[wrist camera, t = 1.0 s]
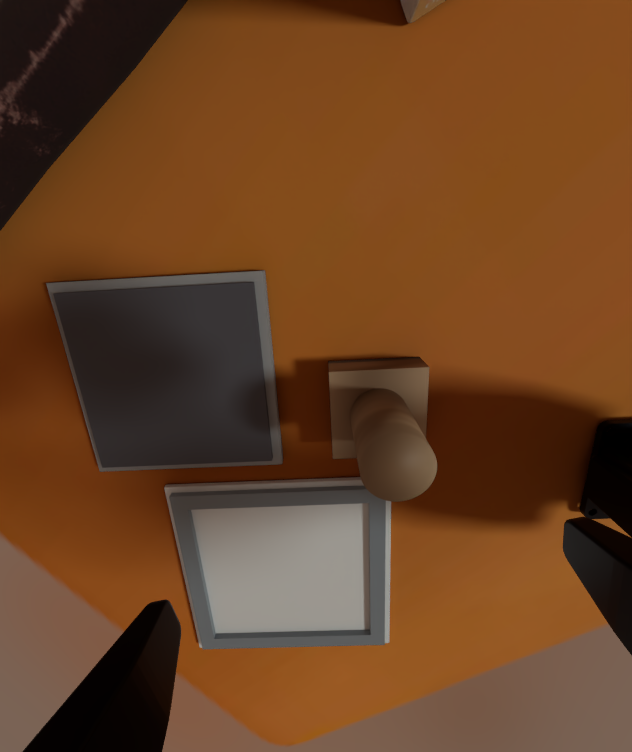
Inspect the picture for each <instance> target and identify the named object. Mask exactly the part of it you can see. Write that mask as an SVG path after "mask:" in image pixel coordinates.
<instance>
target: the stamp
mask: <svg viewBox="0 0 632 752" xmlns="http://www.w3.org/2000/svg"><path fill="white" fill-rule="evenodd" d="M328 369H329V390H330V412H331V434H332V453H333V459H347V458H357V460H358V466H359V472H360V477H361V480H362V483H363V484H364V486H365V488H366V489H367V490H368V491H369V492H370V493H371V494H373V495H374V496H376V497H378V498H380V499H383V500H386V501H393V502H399V501H406V500H410V499H413V498H415V497H417V496H419V495H420V494H422V493H423V492H425V491H426V490H427V489H428V488H429V486H430V485H431V484H432V482H433V481H434V478H435V476H436V473H437V460H436V457H435V454H434V452H433V450H432V449H431V447H430V445H429V443H428V442H427V440H426V427H427V406H428V384H429V366H428V365H427V364H426V363H425V362H424V361H423V360H422V359H421V358H420V357H405V358H385V359H365V360H344V361H328Z"/></svg>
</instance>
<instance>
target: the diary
mask: <svg viewBox="0 0 632 752" xmlns="http://www.w3.org/2000/svg"><path fill="white" fill-rule="evenodd" d="M187 1H188V0H0V230H1V229H2V228H3V227H4V225H5V224H6V223H7V221H8V220H9V219H10V218H11V216H12V215H13V214H14V212H15V211H16V210H17V209H18V207H19V206H20V205H21V203H22V202H23V201H24V200H25V198H26V197H27V196H28V194H29V193H30V192H31V191H32V189H33V188H34V187H35V185H36V184H37V183H38V182H39V180H40V179H41V178H42V176H43V175H44V174H45V173H46V171H47V170H48V169H49V168H50V166H51V165H52V164H53V163H54V162H55V161H56V159H57V158H58V157H59V156H60V155H61V154H62V152H63V151H64V150H65V149H66V148H67V147H68V146H69V144H70V143H71V142H72V141H73V140H74V139H75V137H76V136H77V135H78V134H79V133H80V132H81V130H82V129H83V128H84V127H85V126H86V125H87V123H88V122H89V121H90V120H91V119H92V118H93V116H94V115H95V114H96V113H97V112H98V111H99V109H100V108H101V107H102V106H103V105H104V104H105V103H106V101H107V100H108V99H109V98H110V97H111V96H112V94H113V93H114V92H115V91H116V90H117V89H118V87H119V86H120V85H121V84H122V83H123V82H124V80H125V79H126V78H127V77H128V76H129V75H130V73H131V72H132V71H133V70H134V69H135V68H136V66H137V65H138V64H139V62H140V61H141V60H142V59H143V57H144V56H145V55H146V53H147V52H148V51H149V50H150V48H151V47H152V46H153V44H154V43H155V42H156V40H157V39H158V38H159V37H160V35H161V34H162V33H163V31H164V30H165V29H166V28H167V26H168V25H169V24H170V22H171V21H172V20H173V19H174V17H175V16H176V15H177V13H178V12H179V11H180V10H181V8H182V7H183V6H184V4H185V3H186V2H187Z"/></svg>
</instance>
